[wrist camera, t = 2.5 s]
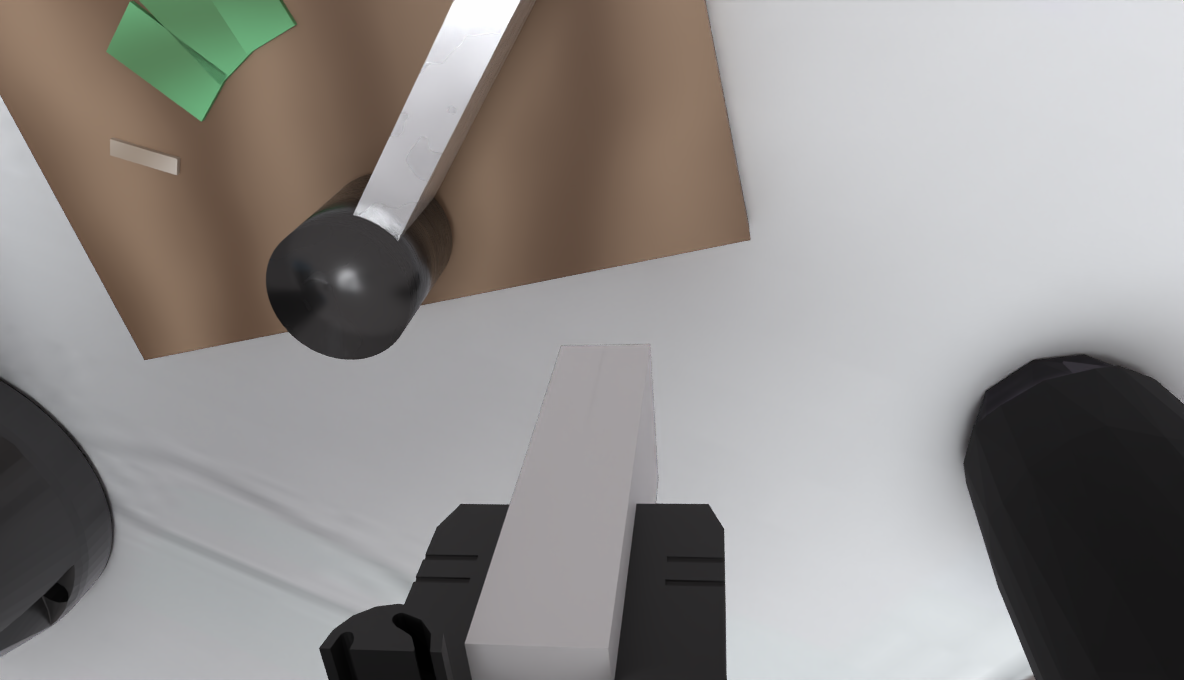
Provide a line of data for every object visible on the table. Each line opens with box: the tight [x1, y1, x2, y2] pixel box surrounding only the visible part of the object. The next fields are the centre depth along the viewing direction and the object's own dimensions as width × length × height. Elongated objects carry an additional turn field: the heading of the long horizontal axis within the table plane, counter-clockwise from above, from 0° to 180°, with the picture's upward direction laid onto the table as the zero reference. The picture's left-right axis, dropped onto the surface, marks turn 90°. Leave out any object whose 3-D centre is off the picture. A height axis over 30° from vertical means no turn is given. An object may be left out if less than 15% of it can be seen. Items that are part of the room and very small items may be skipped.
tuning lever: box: [266, 0, 536, 359], centre depth 27 cm, size 13×4×5 cm, turn 150°
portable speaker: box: [964, 355, 1184, 680], centre depth 25 cm, size 8×9×19 cm
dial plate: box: [0, 0, 750, 360], centre depth 30 cm, size 24×14×2 cm, turn 105°
